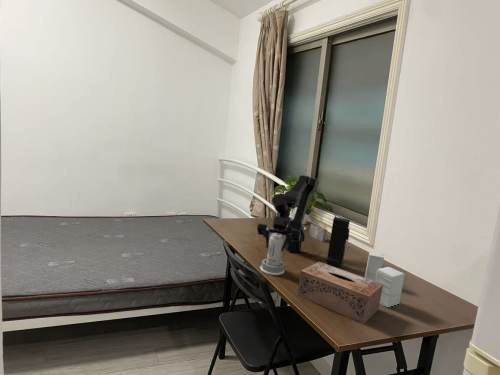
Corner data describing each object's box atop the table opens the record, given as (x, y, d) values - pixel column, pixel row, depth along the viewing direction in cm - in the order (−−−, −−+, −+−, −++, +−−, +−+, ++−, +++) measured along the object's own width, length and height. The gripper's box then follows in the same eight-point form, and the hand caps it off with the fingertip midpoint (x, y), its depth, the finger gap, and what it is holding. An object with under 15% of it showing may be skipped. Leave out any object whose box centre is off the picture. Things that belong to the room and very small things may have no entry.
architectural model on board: (325, 242, 207) (328, 225, 205) (321, 242, 205) (324, 226, 203) (312, 235, 216) (315, 220, 214) (308, 236, 214) (311, 220, 213)
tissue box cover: (378, 309, 132) (383, 284, 130) (364, 324, 121) (369, 296, 119) (315, 284, 147) (318, 261, 145) (297, 295, 136) (301, 270, 134)
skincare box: (364, 281, 156) (369, 254, 154) (364, 277, 160) (368, 251, 158) (379, 284, 154) (384, 257, 152) (378, 280, 159) (383, 254, 156)
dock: (278, 265, 163) (279, 258, 162) (288, 274, 153) (289, 267, 153) (257, 265, 160) (257, 258, 159) (265, 275, 150) (266, 267, 149)
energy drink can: (262, 267, 156) (267, 233, 154) (271, 264, 161) (276, 231, 158) (273, 272, 152) (278, 237, 150) (282, 269, 157) (287, 235, 154)
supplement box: (383, 296, 143) (388, 266, 141) (399, 305, 137) (405, 273, 135) (370, 299, 139) (376, 268, 137) (387, 308, 133) (393, 276, 131)
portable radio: (344, 265, 172) (353, 214, 167) (342, 269, 166) (351, 217, 162) (328, 261, 175) (336, 211, 171) (325, 265, 170) (333, 213, 165)
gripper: (260, 205, 158) (251, 236, 149) (303, 212, 153) (296, 245, 145) (262, 218, 167) (253, 248, 158) (302, 225, 162) (296, 257, 154)
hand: (274, 249), depth 153 cm, fingers open, 6 cm apart
